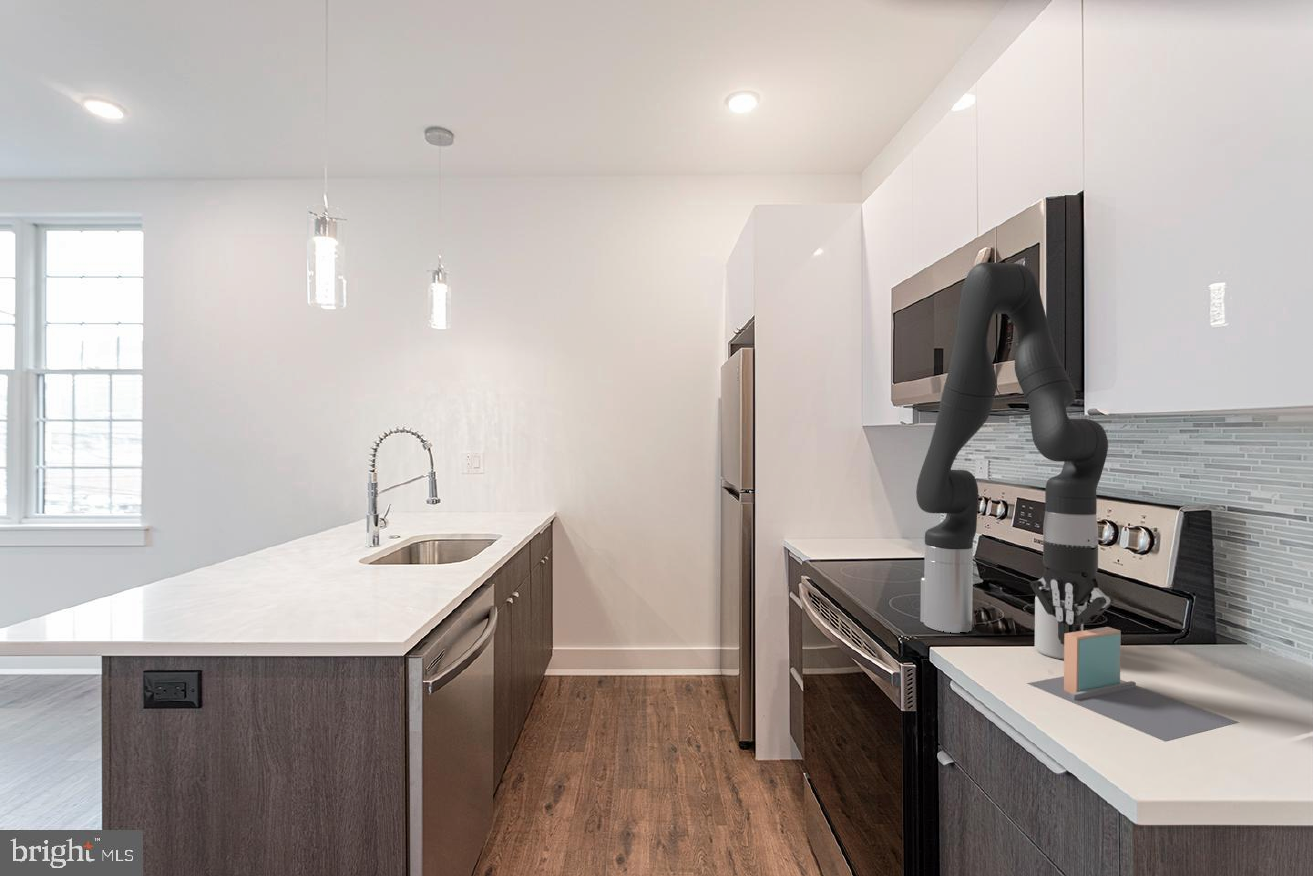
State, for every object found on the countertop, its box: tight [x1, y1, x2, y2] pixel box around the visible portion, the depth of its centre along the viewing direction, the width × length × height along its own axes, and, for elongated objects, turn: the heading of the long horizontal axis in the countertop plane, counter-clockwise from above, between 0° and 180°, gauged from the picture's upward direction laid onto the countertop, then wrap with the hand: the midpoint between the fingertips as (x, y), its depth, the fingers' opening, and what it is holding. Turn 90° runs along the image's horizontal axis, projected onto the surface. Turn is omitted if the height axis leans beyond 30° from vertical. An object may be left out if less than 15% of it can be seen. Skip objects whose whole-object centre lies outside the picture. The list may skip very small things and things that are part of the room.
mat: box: [1026, 675, 1239, 742], centre depth 94 cm, size 20×16×1 cm
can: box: [1034, 595, 1084, 661], centre depth 114 cm, size 8×8×12 cm
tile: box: [1063, 626, 1122, 693], centre depth 98 cm, size 2×10×9 cm, turn 110°
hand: (1069, 645), depth 102 cm, fingers closed
